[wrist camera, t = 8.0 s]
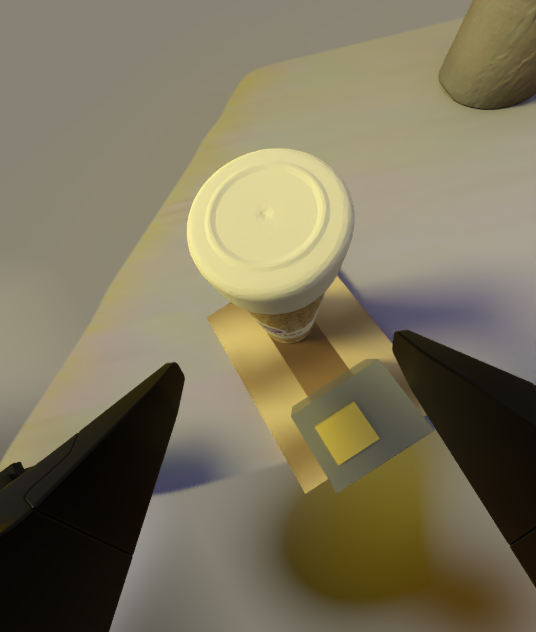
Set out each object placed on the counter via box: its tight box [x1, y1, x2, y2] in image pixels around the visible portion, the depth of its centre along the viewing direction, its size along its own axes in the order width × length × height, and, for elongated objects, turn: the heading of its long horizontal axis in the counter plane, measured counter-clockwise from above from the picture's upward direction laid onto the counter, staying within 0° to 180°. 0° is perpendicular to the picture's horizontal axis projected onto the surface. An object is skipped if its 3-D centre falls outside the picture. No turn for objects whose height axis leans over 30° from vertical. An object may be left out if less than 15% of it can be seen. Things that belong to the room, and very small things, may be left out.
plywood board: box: [207, 276, 427, 494], centre depth 18 cm, size 16×12×1 cm
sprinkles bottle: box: [187, 148, 355, 343], centre depth 12 cm, size 5×5×13 cm
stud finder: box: [291, 359, 434, 493], centre depth 14 cm, size 5×7×3 cm
